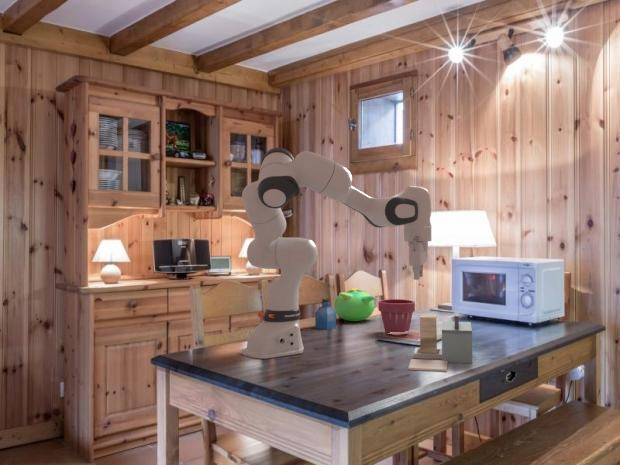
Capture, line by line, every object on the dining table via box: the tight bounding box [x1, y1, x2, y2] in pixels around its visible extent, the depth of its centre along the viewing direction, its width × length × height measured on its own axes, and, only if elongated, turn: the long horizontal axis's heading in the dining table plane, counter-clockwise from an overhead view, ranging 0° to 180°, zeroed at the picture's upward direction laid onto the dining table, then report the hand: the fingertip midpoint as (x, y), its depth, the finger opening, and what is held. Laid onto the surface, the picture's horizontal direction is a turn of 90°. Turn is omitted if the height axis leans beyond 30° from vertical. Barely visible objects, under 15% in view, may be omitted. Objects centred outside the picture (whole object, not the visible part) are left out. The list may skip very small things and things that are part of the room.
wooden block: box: [419, 314, 438, 354], centre depth 184 cm, size 5×5×13 cm
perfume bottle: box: [315, 298, 337, 330], centre depth 238 cm, size 6×6×12 cm
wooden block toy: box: [413, 310, 473, 364], centre depth 182 cm, size 16×18×14 cm
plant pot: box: [377, 298, 416, 334], centre depth 222 cm, size 14×14×13 cm
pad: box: [408, 358, 448, 373], centre depth 170 cm, size 11×11×1 cm
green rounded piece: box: [333, 287, 376, 322], centre depth 253 cm, size 18×17×15 cm
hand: (418, 278), depth 185 cm, fingers open, 8 cm apart
